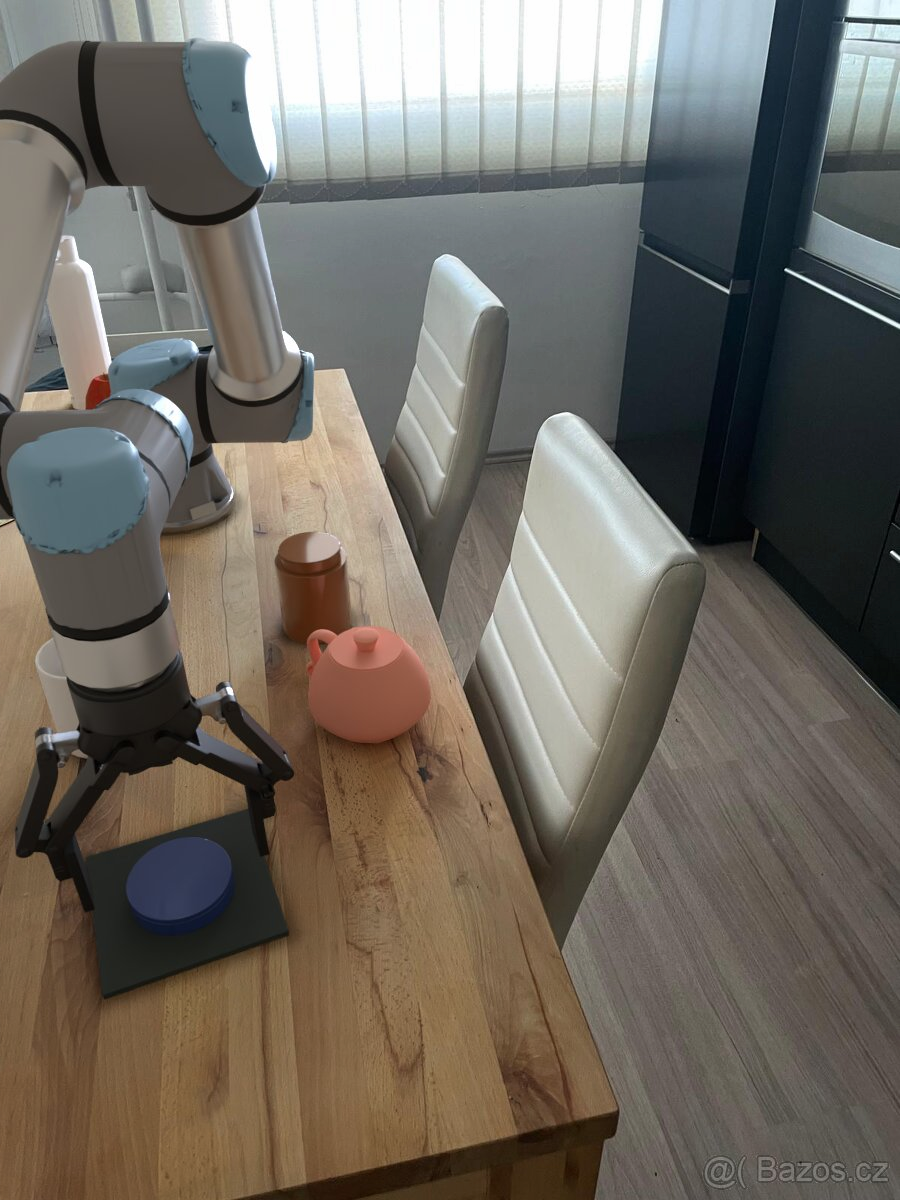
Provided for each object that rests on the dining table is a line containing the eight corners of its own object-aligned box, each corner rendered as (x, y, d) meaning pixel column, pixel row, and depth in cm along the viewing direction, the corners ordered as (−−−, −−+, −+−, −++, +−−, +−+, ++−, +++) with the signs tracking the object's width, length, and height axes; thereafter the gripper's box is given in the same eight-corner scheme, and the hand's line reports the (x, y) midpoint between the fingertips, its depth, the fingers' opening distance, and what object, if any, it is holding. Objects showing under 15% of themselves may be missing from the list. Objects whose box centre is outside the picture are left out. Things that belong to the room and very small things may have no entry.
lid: (226, 934, 72) (222, 918, 70) (118, 938, 71) (113, 923, 70) (241, 850, 78) (238, 835, 77) (143, 854, 78) (139, 838, 77)
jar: (275, 613, 109) (265, 537, 103) (339, 599, 112) (333, 523, 106) (293, 651, 103) (283, 572, 97) (360, 634, 105) (355, 556, 100)
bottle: (129, 398, 166) (95, 235, 150) (98, 414, 160) (59, 246, 144) (94, 391, 169) (58, 231, 153) (62, 407, 163) (21, 241, 147)
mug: (184, 693, 97) (167, 613, 91) (187, 745, 90) (169, 662, 84) (63, 714, 94) (38, 633, 88) (58, 769, 87) (30, 685, 82)
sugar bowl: (385, 773, 87) (380, 690, 81) (272, 721, 93) (260, 640, 87) (453, 702, 95) (453, 621, 90) (346, 659, 102) (339, 581, 96)
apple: (123, 420, 158) (109, 359, 152) (154, 431, 154) (142, 369, 148) (82, 436, 152) (66, 374, 146) (113, 448, 148) (99, 384, 142)
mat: (86, 861, 78) (85, 856, 78) (249, 812, 83) (248, 808, 82) (104, 1000, 68) (102, 995, 67) (289, 935, 72) (288, 930, 72)
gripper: (290, 590, 68) (314, 793, 80) (-80, 673, 60) (8, 885, 72) (318, 646, 63) (340, 855, 75) (-86, 746, 55) (10, 962, 66)
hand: (177, 870), depth 73 cm, fingers open, 13 cm apart
